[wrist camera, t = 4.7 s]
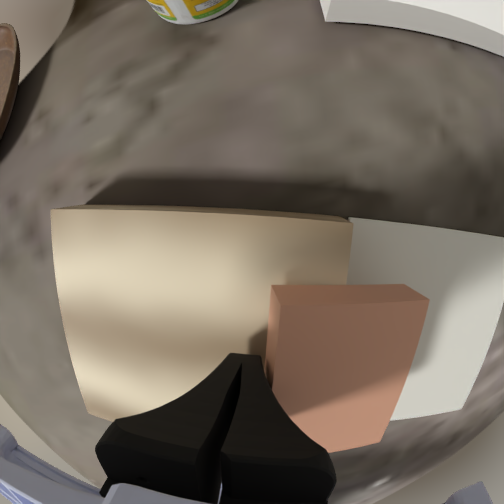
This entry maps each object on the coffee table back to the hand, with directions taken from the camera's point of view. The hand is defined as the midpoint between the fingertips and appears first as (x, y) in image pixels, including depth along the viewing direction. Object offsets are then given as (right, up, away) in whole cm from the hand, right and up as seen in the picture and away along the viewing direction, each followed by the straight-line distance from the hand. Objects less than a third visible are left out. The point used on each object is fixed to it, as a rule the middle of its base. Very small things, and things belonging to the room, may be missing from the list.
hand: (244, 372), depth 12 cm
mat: (+11, 0, +3) cm, 11 cm away
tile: (+4, 0, 0) cm, 4 cm away
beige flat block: (-3, +1, +4) cm, 5 cm away
